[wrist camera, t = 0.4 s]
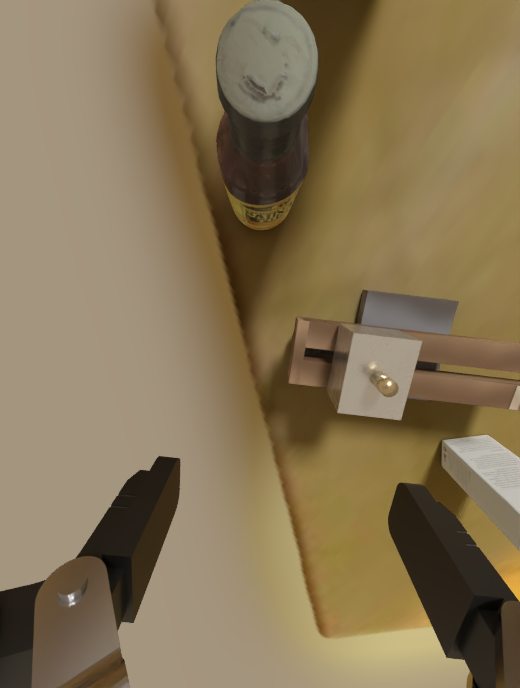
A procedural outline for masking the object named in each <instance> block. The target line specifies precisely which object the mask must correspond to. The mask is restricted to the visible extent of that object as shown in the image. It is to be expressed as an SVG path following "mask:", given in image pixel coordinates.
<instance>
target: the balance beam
mask: <svg viewBox="0 0 520 688" xmlns="http://www.w3.org/2000/svg"><path fill="white" fill-rule="evenodd" d="M457 305H458V301H452V300H444V299H436V298H427V297H419V296H410V295H402V294H394V293H385V292H377V291H368V290H363V293H362V298H361V303H360V308H359V312H358V317H357V322H356V324H354V323H346V322H337V321H329V320H320V319H312V318H303V317H296V322H295V328H294V333H293V336H292V348H291V355H290V362H289V368H288V375H287V377H288V382H289V383H290V384H299V385H307V386H316V387H324V388H327V387H328V381H329V376H330V371H331V366H332V360H333V355H334V350H335V345H336V339H337V334H338V329H339V324H340V323H343V324H351V325H360V326H368V327H377V328H385V329H394V330H399V331H401V332H403V333H405V334H408V335H410V336H412V337H414V338H417V339H419V340H421V341H422V345H421V348H420V352H419V356H418V359H417V363H416V367H415V370H414V374H413V378H412V381H411V385H410V389H409V392H408V396H407V399H415V400H423V401H429V400H436V401H444V402H453V403H461V404H470V405H478V406H487V407H495V408H504V409H513V410H520V380H514V379H506V378H497V377H489V376H480V375H472V374H463V373H455V372H446V371H438V370H439V366H440V363H442V364H450V365H459V366H467V367H476V368H484V369H493V370H501V371H510V372H518V373H520V343H515V342H507V341H498V340H490V339H481V338H473V337H464V336H456V335H449V332H450V329H451V326H452V322H453V319H454V315H455V312H456V309H457Z"/></svg>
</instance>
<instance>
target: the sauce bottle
mask: <svg viewBox="0 0 520 688" xmlns="http://www.w3.org/2000/svg"><path fill="white" fill-rule="evenodd" d="M216 74H217V86H218V94H219V98H220V101H221V103H222V106H223V108H224V110H225V112H224V115H223V116H222V119H221V121H220V125H219V129H218V133H217V140H216V142H217V153H218V161H219V165H220V171H221V176H222V179H223V182H224V185H225V188H226V191H227V194H228V197H229V199H230V202H231V204H232V208H233V210H234V212H235V214H236V216H237V217H238V219H239V220H240V221H241V222H242V223H243V224H244V225H246V226H248V227H249V228H251V229H253V230H269V229H271V228H274V227H276V226H277V225H279V224H280V223H281V222H282V221H283V220H284V219H285V218H286V217H287V215H288V213H289V211H290V209H291V206H292V204H293V202H294V200H295V198H296V196H297V193H298V191H299V189H300V187H301V185H302V183H303V180H304V178H305V176H306V173H307V170H308V163H309V128H308V115H307V111H308V109H309V106H310V104H311V101H312V99H313V96H314V89H315V86H316V82H317V75H318V50H317V46H316V43H315V37H314V35H313V33H312V31H311V29H310V26H309V25H308V23H307V22H306V20H305V19H304V18H303V17H302V15H301V14H299V13H298V12H297V11H296V10H295V9H294V8H293V7H291V6H289V5H286V4H283V3H282V2H280V1H279V0H276V1H273V0H259V1H255V2H251V3H249V4H247V5H246V6H244V7H243V8H242V9H241V10H240V11H239V12H238V13H237V14H235V15H234V16H233V17H232V18H231V19H230V20H229V21H228V22H227V24H226V25H225V27H224V29H223V31H222V33H221V36H220V38H219V42H218V47H217V54H216Z"/></svg>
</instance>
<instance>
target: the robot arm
mask: <svg viewBox="0 0 520 688" xmlns="http://www.w3.org/2000/svg"><path fill="white" fill-rule="evenodd" d="M179 486H180V459H179V458H172V457H162V456H159V457H158V458H157V459H156V461H155V462H154V464H153V466H152V468H151V469H150V471H146V470H140V471H138V472H137V473H136V474H135V475H133V476H132V477H131V478H130V479H128V480H127V482H126V483H125V485H124V486H123V488H122V489H121V491H120V492H119V495H118V496H117V497H116V498H115V500H114V501H113V503H112V505H111V507H110V508H109V509H108V510H107V512H106V514H105V515H104V517H103V518H102V520H101V521H100V523H99V524H98V526H97V527H96V529H95V530H94V532H93V533H92V535H91V536H90V538H89V539H88V541H87V543H86V544H85V546H84V547H83V549H82V550H81V552H80V553H79V554H78V556H77V557H76V558H75V559H73V560H70V561H68V562H66V563H65V564H63V565H62V566H60V567H59V568H57V569H56V570H55V571H54V572H53V573H52V574H51V575H50V576H49V577H48V578H47V579H46V580H44V581H41V582H38V583H35V584H31V585H27V586H22V587H18V588H14V589H9V590H5V591H0V688H130V686H129V680H128V674H127V670H126V665H125V661H124V659H123V658H122V654H121V649H120V643H119V638H118V632H117V631H118V629H119V627H120V624H121V622H130V623H134V620H135V618H136V615H137V612H138V609H139V607H140V604H141V601H142V599H143V596H144V594H145V591H146V588H147V586H148V583H149V580H150V578H151V575H152V572H153V570H154V567H155V564H156V562H157V559H158V556H159V554H160V551H161V548H162V546H163V543H164V540H165V538H166V535H167V533H168V530H169V527H170V525H171V522H172V519H173V517H174V514H175V511H176V508H177V504H178V499H179V490H180V488H179ZM388 525H389V531H390V534H391V537H392V539H393V541H394V543H395V545H396V548H397V550H398V552H399V554H400V556H401V559H402V561H403V563H404V565H405V567H406V569H407V572H408V574H409V576H410V578H411V580H412V583H413V585H414V587H415V589H416V591H417V594H418V596H419V598H420V600H421V602H422V605H423V607H424V609H425V611H426V613H427V616H428V618H429V620H430V622H431V624H432V627H433V629H434V631H435V633H436V635H437V638H438V640H439V642H440V644H441V646H442V648H443V650H444V653H445V655H446V657H447V658H453V659H463V660H465V662H466V664H467V666H468V668H469V670H470V673H469V675H468V678H467V688H520V602H519V600H518V599H517V598H516V596H515V595H514V594H513V592H512V591H511V590H510V588H509V587H508V586H507V584H506V583H505V582H504V580H503V579H502V578H501V576H500V575H499V574H498V572H497V571H496V570H495V568H494V567H493V566H492V564H491V563H490V562H489V560H488V559H487V558H486V556H485V555H484V554H483V552H482V551H481V550H480V548H478V547H477V546H476V543H475V542H474V540H473V539H472V538H471V536H470V535H469V534H467V531H466V530H465V528H464V527H463V526H462V524H461V523H460V522H459V520H458V519H457V518H456V516H455V515H454V514H452V513H451V512H450V511H449V510H448V509H447V508H446V507H444V506H443V505H442V504H441V503H440V502H436V501H435V500H434V499H433V497H432V496H431V494H430V493H429V492H428V490H427V489H426V488H425V487H424V486H423V485H419V484H410V483H399V484H398V485H397V488H396V491H395V495H394V498H393V502H392V505H391V509H390V512H389V516H388Z"/></svg>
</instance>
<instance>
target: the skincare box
mask: <svg viewBox="0 0 520 688" xmlns="http://www.w3.org/2000/svg"><path fill="white" fill-rule="evenodd" d="M442 467H443V468H444V469H445V470H446V471H447V472H448V474H449V475H450V476H451V477H452V478H453V479H454V480H455V481H456V482H457V483H458V485H459V486H460V487H461V488H462V489H463V490H464V491H465V492H466V493H467V494H468V495H469V496H470V498H471V499H472V500H473V501H474V502H475V503H476V504H477V505H478V506H479V507H480V509H481V510H482V511H483V512H484V513H485V514H486V515H487V516H488V517H489V518H490V519H491V521H492V522H493V523H494V524H495V525H496V526H497V527H498V528H499V529H500V530H501V531H502V532H503V534H504V535H505V536H506V537H507V538H508V539H509V540H510V541H511V542H512V543H513V544H514V546H515V547H516V548H517V549H518V550H519V551H520V458H519V457H517V456H516V455H515V454H513V453H512V452H510V451H509V450H508V449H506V448H505V447H504V446H502V445H501V444H500V443H498V442H497V441H495V440H494V439H493V438H491V437H490V436H489V435H480V436H472V437H464V438H456V439H447V440H442Z"/></svg>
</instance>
